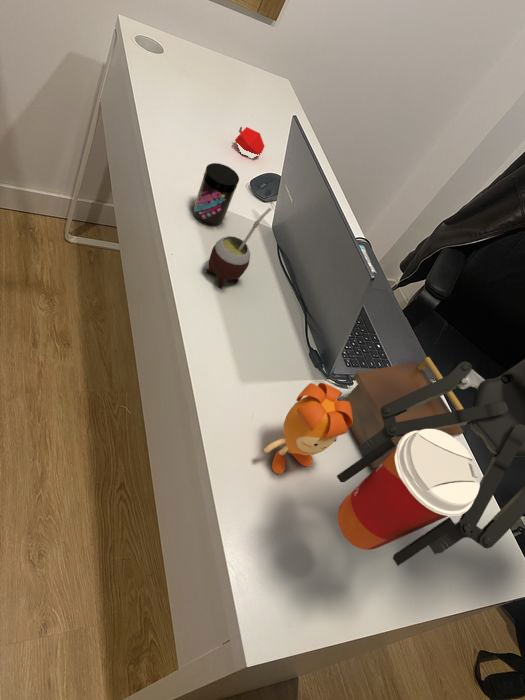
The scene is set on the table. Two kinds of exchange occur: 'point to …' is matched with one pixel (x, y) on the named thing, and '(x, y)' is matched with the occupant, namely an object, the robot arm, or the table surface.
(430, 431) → the coffee cup
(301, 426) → the toy figure
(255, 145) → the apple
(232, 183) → the supplement container
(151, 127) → the table surface
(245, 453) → the table surface
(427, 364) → the box with handle
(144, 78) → the table surface
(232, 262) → the mate gourd
